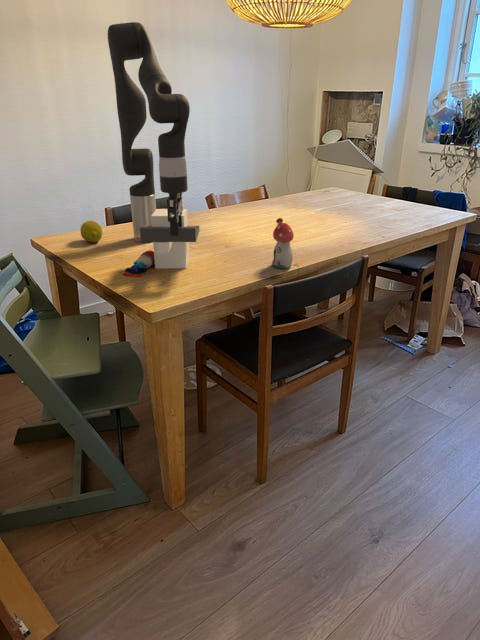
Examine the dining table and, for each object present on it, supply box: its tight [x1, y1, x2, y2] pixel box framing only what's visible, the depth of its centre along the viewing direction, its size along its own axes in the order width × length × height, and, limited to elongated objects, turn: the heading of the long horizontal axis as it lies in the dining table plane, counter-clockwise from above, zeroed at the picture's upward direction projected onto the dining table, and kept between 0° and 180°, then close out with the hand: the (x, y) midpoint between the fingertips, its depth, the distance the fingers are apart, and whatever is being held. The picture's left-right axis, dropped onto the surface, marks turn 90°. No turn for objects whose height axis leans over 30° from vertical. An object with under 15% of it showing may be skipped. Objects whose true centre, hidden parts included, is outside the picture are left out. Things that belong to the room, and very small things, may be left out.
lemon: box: [80, 220, 103, 244], centre depth 180 cm, size 11×8×8 cm
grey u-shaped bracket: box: [140, 225, 200, 243], centre depth 144 cm, size 13×16×4 cm
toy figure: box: [122, 250, 155, 278], centre depth 153 cm, size 8×5×15 cm
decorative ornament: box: [271, 217, 294, 270], centre depth 153 cm, size 9×7×15 cm
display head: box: [135, 208, 197, 269], centre depth 149 cm, size 22×18×17 cm
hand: (176, 231), depth 138 cm, fingers open, 8 cm apart
